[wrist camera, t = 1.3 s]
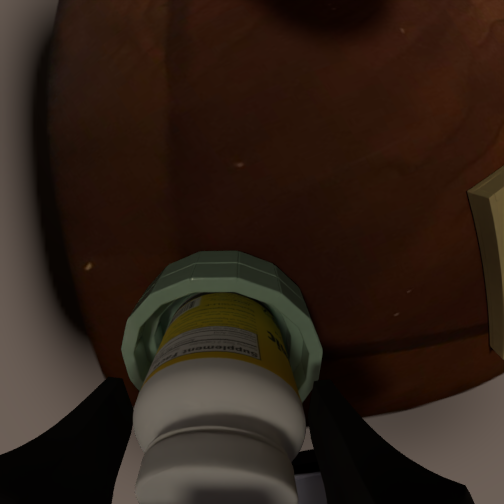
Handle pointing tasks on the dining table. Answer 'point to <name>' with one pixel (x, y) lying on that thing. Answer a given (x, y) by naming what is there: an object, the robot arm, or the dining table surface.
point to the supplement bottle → (219, 408)
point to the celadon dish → (223, 280)
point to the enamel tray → (491, 249)
